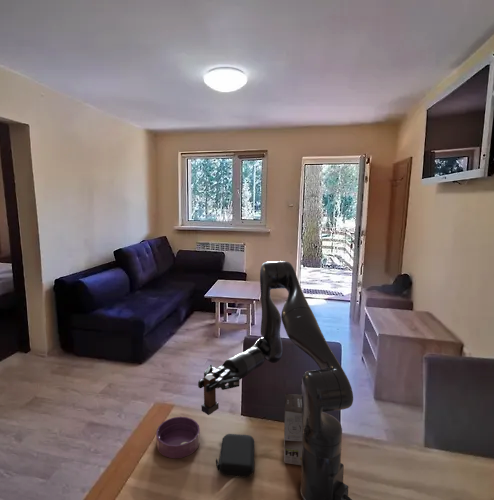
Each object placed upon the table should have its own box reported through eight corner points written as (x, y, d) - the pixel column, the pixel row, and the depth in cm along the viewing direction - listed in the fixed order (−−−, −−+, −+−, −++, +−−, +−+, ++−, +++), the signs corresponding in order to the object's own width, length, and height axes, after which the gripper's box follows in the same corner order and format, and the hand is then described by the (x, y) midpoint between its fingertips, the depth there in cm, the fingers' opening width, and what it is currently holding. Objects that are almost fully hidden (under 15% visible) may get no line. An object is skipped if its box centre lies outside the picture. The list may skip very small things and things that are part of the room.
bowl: (208, 443, 103) (208, 429, 102) (175, 467, 94) (174, 453, 93) (181, 423, 112) (181, 411, 111) (148, 444, 102) (147, 431, 102)
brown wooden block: (211, 404, 108) (210, 372, 106) (218, 408, 106) (218, 376, 104) (201, 410, 105) (200, 378, 103) (208, 415, 103) (207, 382, 101)
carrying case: (220, 439, 104) (213, 478, 90) (219, 430, 104) (213, 468, 89) (254, 441, 103) (253, 481, 89) (254, 432, 103) (253, 471, 88)
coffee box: (307, 466, 93) (308, 413, 91) (283, 463, 95) (284, 411, 92) (305, 443, 102) (307, 394, 100) (284, 440, 103) (285, 392, 101)
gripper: (224, 349, 118) (187, 367, 106) (256, 362, 109) (218, 384, 96) (224, 369, 119) (187, 389, 107) (256, 383, 110) (219, 408, 97)
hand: (202, 387), depth 102 cm, fingers closed on brown wooden block, 2 cm apart
